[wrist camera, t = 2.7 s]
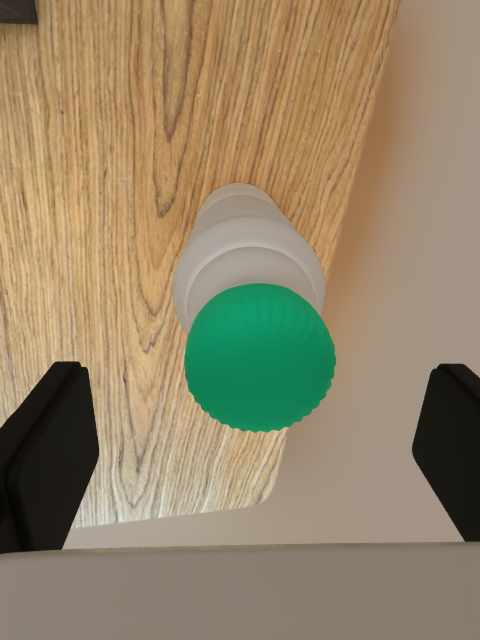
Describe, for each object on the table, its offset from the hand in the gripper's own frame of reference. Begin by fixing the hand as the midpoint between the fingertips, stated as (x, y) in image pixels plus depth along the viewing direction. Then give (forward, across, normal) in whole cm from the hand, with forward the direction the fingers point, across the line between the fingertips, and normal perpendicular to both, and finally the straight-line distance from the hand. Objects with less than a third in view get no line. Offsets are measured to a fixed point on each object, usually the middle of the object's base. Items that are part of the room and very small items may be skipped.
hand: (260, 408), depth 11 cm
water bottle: (+26, 0, 0) cm, 26 cm away
